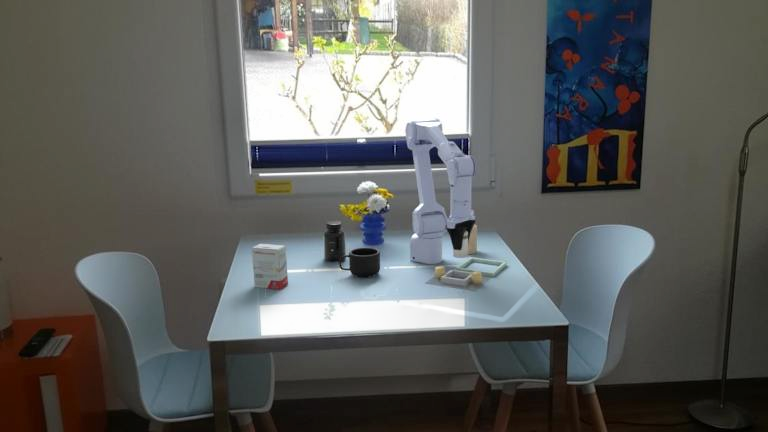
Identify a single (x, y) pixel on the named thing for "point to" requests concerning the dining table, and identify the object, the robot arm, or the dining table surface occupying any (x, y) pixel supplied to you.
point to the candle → (473, 241)
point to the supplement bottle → (334, 242)
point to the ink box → (270, 266)
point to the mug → (363, 262)
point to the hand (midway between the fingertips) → (460, 247)
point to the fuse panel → (458, 279)
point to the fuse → (464, 249)
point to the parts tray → (484, 273)
